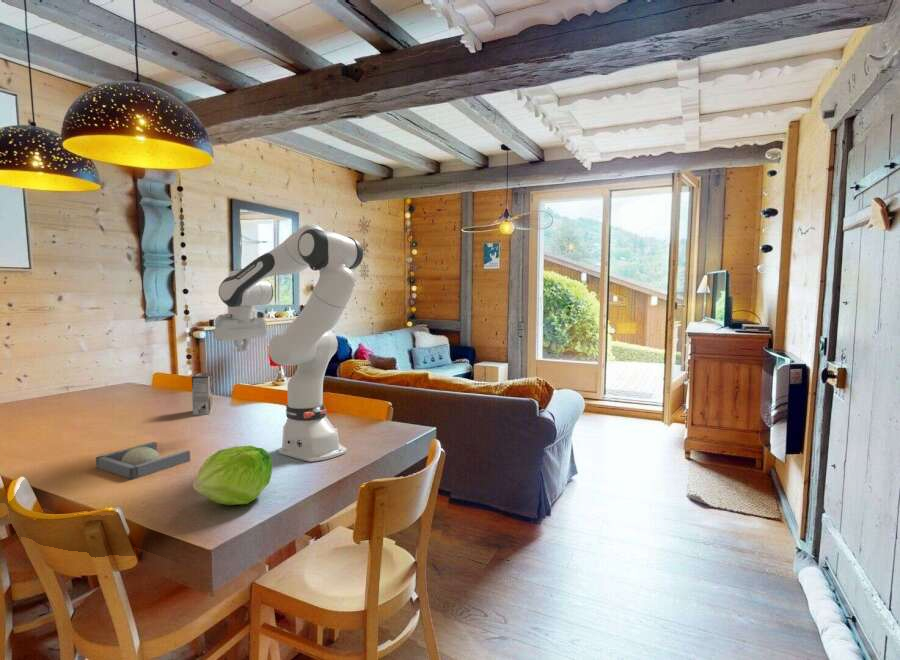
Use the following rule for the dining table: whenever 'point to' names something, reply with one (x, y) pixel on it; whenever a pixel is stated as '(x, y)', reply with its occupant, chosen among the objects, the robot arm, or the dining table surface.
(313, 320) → the robot arm
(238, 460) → the lettuce
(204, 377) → the coffee box
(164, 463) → the bay
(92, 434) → the dining table surface
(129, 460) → the sea urchin shell
